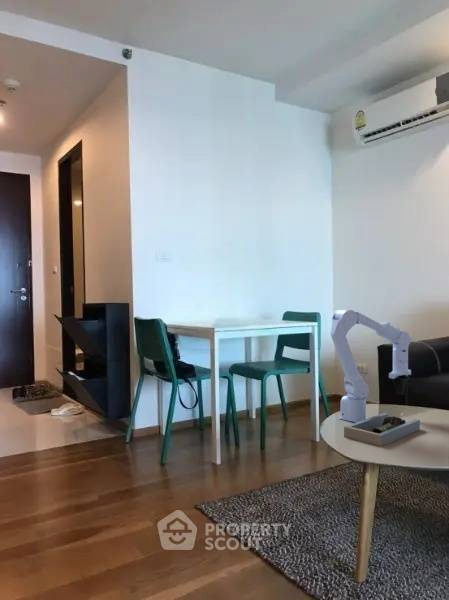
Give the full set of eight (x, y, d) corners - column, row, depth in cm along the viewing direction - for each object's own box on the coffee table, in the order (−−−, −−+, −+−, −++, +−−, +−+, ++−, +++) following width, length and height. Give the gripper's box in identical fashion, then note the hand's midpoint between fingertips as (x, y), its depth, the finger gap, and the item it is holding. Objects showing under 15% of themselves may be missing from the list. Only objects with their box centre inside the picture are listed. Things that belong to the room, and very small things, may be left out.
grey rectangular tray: (344, 436, 164) (344, 426, 164) (384, 421, 183) (384, 412, 183) (380, 446, 154) (380, 435, 154) (419, 429, 173) (419, 420, 173)
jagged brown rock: (384, 442, 159) (384, 426, 159) (366, 438, 164) (366, 422, 164) (409, 432, 171) (409, 416, 171) (391, 428, 176) (391, 413, 176)
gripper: (401, 363, 182) (400, 398, 182) (418, 359, 191) (418, 393, 191) (384, 361, 187) (384, 395, 187) (401, 358, 197) (401, 390, 197)
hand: (400, 394), depth 190 cm, fingers closed
